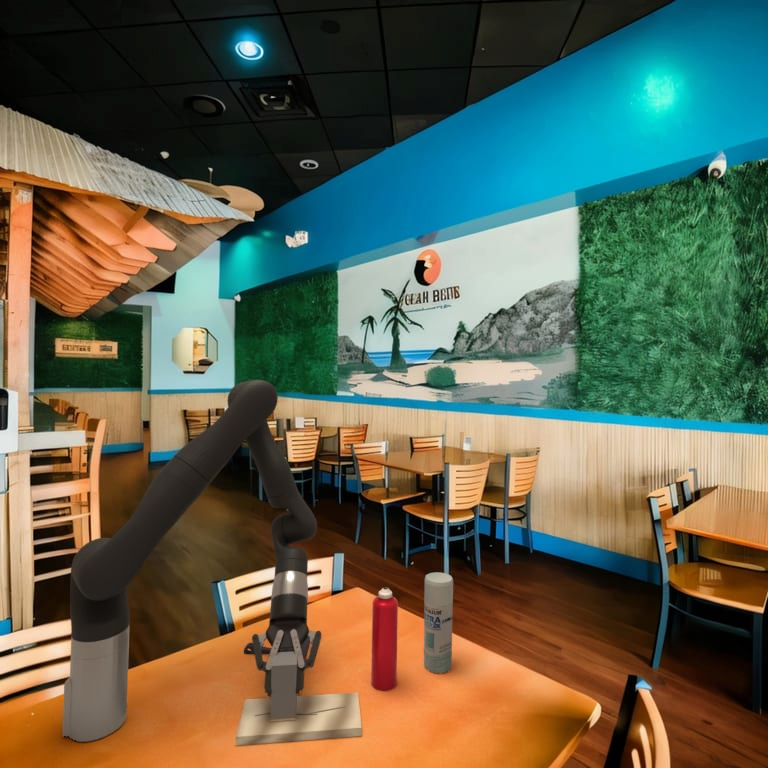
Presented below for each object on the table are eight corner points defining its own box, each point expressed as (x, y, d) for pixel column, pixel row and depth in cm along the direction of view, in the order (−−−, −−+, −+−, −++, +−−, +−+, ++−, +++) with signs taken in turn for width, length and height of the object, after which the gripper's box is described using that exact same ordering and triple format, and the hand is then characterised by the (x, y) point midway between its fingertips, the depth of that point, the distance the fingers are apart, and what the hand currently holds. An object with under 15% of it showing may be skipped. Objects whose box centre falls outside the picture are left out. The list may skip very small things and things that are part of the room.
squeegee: (252, 639, 117) (253, 628, 117) (311, 640, 117) (311, 629, 117) (234, 674, 103) (234, 661, 103) (301, 675, 103) (301, 662, 103)
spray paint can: (417, 664, 107) (418, 576, 107) (437, 654, 111) (438, 569, 111) (438, 678, 102) (439, 585, 102) (457, 667, 106) (459, 578, 106)
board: (235, 745, 81) (235, 736, 81) (245, 707, 91) (245, 699, 91) (361, 736, 84) (361, 727, 84) (357, 699, 94) (357, 692, 94)
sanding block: (270, 721, 85) (271, 666, 85) (272, 705, 89) (273, 652, 90) (295, 719, 85) (296, 664, 86) (297, 703, 90) (298, 650, 90)
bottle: (389, 694, 96) (390, 595, 96) (366, 685, 98) (368, 590, 99) (401, 680, 101) (402, 586, 101) (379, 672, 103) (380, 581, 104)
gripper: (253, 593, 94) (241, 691, 82) (324, 590, 96) (323, 686, 84) (256, 607, 99) (245, 702, 87) (323, 604, 101) (322, 696, 89)
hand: (283, 693), depth 86 cm, fingers closed on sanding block, 4 cm apart
